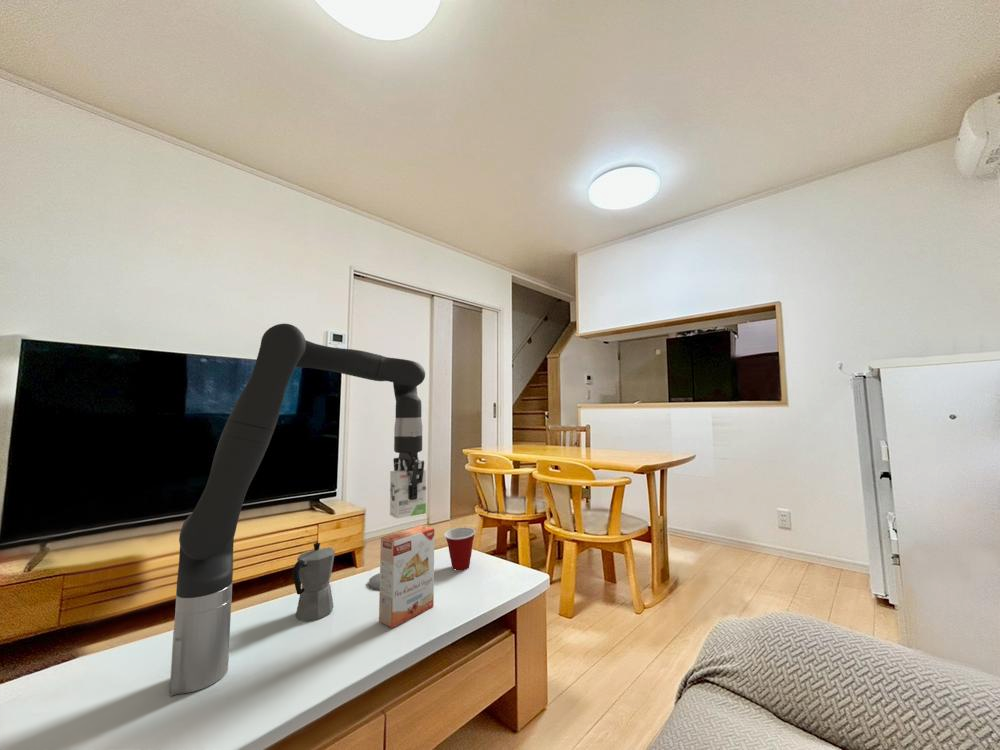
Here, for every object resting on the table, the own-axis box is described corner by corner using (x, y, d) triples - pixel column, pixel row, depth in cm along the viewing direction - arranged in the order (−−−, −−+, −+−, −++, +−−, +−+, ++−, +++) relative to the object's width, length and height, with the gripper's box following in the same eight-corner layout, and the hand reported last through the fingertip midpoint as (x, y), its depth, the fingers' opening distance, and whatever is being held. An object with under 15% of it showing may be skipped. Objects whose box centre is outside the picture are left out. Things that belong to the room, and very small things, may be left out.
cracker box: (393, 630, 94) (393, 540, 97) (378, 622, 98) (379, 536, 100) (435, 606, 105) (435, 527, 108) (420, 601, 109) (420, 524, 111)
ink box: (418, 510, 109) (419, 467, 110) (426, 513, 105) (426, 469, 106) (389, 515, 104) (389, 470, 105) (395, 519, 100) (396, 472, 101)
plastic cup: (437, 569, 132) (437, 532, 133) (460, 559, 140) (460, 525, 141) (459, 576, 125) (459, 538, 126) (482, 566, 133) (482, 530, 134)
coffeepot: (315, 600, 111) (317, 534, 113) (345, 602, 109) (346, 536, 111) (274, 629, 96) (277, 553, 98) (308, 632, 94) (310, 555, 96)
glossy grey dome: (378, 593, 114) (378, 590, 114) (363, 581, 123) (363, 577, 123) (415, 582, 122) (415, 578, 122) (398, 571, 131) (398, 567, 131)
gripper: (384, 434, 110) (383, 496, 108) (407, 435, 99) (407, 504, 97) (408, 433, 114) (408, 492, 113) (433, 434, 104) (433, 499, 102)
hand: (407, 497), depth 105 cm, fingers closed on ink box, 5 cm apart
